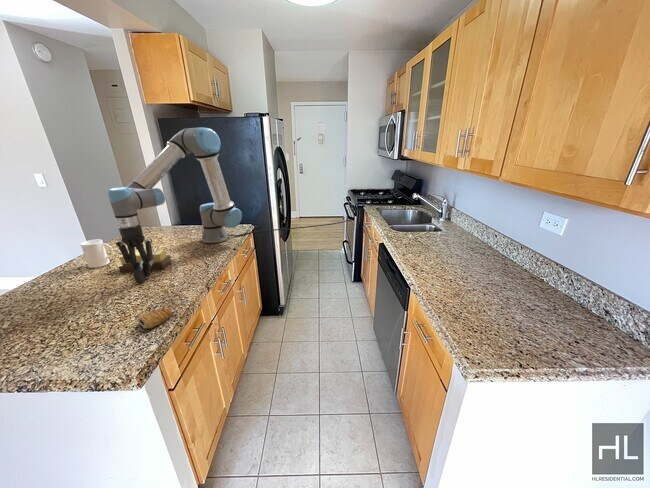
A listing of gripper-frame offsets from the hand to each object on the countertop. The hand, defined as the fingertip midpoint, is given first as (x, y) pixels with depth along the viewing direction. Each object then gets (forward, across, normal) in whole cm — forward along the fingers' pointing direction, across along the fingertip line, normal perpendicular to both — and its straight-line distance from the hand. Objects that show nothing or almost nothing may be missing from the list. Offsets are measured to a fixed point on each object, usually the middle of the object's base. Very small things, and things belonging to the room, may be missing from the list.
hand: (144, 275), depth 116 cm
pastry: (+2, +18, -33) cm, 38 cm away
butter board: (+2, -5, +14) cm, 15 cm away
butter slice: (-1, +2, +14) cm, 14 cm away
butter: (-1, -9, +14) cm, 17 cm away
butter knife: (-1, 0, +7) cm, 7 cm away
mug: (+2, -28, +20) cm, 35 cm away
